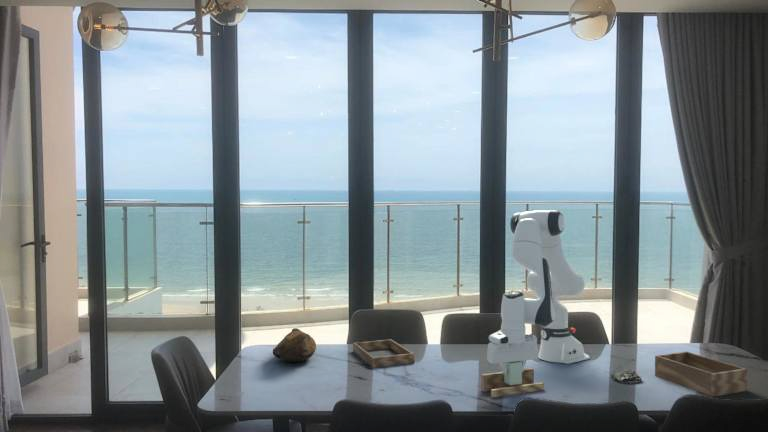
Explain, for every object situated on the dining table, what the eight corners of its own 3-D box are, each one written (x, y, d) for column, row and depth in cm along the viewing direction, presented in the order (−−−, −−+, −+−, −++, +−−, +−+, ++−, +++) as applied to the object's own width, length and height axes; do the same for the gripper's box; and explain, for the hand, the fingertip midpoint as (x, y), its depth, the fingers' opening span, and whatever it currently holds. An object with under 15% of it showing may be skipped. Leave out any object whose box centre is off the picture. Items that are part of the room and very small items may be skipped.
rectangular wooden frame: (391, 347, 272) (391, 339, 272) (414, 362, 247) (414, 353, 246) (353, 351, 265) (353, 343, 265) (373, 367, 240) (373, 358, 240)
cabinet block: (515, 380, 214) (515, 355, 213) (521, 383, 210) (522, 358, 210) (504, 382, 212) (504, 356, 212) (510, 385, 208) (510, 359, 208)
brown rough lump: (306, 372, 233) (305, 336, 233) (262, 371, 235) (262, 335, 234) (324, 348, 270) (324, 317, 269) (286, 348, 272) (286, 316, 271)
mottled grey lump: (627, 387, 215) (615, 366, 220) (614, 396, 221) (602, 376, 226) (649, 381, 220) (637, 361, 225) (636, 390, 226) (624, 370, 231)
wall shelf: (531, 383, 219) (531, 367, 219) (544, 389, 212) (544, 373, 211) (481, 390, 211) (481, 374, 211) (492, 397, 204) (493, 380, 203)
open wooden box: (686, 370, 234) (686, 351, 234) (746, 390, 210) (747, 369, 210) (654, 375, 228) (655, 355, 228) (713, 396, 204) (713, 374, 204)
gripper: (531, 331, 217) (531, 367, 218) (484, 336, 210) (484, 373, 210) (541, 335, 211) (541, 372, 212) (494, 340, 204) (493, 378, 204)
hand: (512, 373), depth 211 cm, fingers closed on cabinet block, 5 cm apart
